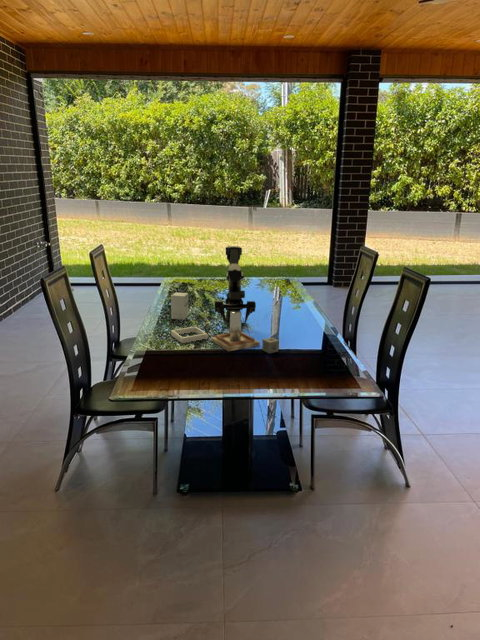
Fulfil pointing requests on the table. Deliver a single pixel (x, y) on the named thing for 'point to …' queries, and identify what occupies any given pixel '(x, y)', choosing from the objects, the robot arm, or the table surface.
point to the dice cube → (270, 345)
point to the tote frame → (190, 338)
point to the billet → (235, 326)
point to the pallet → (231, 345)
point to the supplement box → (179, 306)
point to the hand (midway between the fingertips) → (235, 322)
